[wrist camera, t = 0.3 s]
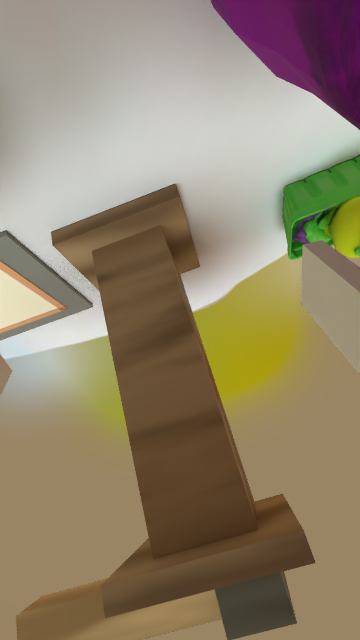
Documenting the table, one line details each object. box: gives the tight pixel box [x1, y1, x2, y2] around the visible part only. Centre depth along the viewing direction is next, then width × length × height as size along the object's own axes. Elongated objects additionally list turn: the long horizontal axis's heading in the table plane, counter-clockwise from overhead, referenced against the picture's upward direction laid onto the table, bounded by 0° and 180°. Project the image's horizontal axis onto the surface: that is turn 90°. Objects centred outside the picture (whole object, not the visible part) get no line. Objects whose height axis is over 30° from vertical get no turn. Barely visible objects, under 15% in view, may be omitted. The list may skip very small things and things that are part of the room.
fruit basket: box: [283, 156, 360, 260], centre depth 30 cm, size 11×9×11 cm
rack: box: [51, 184, 315, 618], centre depth 28 cm, size 12×12×28 cm
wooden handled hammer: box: [16, 571, 297, 640], centre depth 22 cm, size 8×19×3 cm, turn 103°
